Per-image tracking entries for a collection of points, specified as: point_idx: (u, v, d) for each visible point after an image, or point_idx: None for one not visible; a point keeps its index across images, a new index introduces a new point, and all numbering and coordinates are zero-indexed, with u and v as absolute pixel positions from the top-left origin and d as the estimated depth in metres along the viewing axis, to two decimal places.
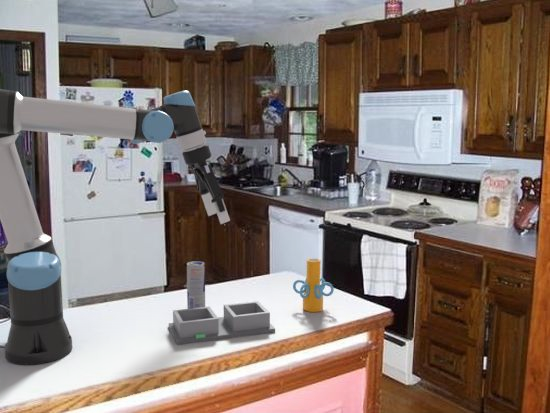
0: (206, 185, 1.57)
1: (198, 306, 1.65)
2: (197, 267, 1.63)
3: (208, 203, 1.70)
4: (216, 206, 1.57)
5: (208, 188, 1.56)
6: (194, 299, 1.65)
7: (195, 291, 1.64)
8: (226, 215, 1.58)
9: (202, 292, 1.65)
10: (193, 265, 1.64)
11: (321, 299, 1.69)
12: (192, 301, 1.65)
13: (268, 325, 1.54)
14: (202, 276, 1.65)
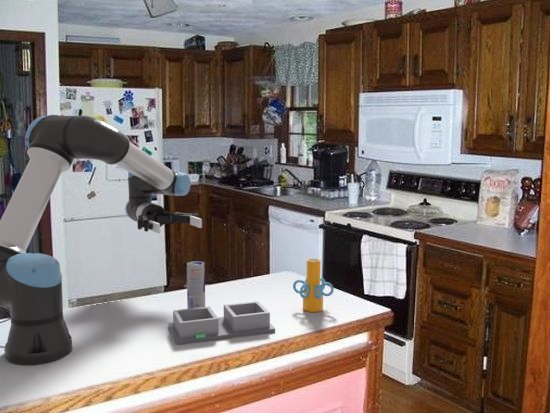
0: (178, 214, 1.83)
1: (198, 306, 1.65)
2: (197, 267, 1.63)
3: None
4: None
5: (182, 214, 1.83)
6: (194, 299, 1.65)
7: (195, 291, 1.64)
8: None
9: (202, 292, 1.65)
10: (193, 265, 1.64)
11: (321, 299, 1.69)
12: (192, 301, 1.65)
13: (268, 325, 1.54)
14: (202, 276, 1.65)
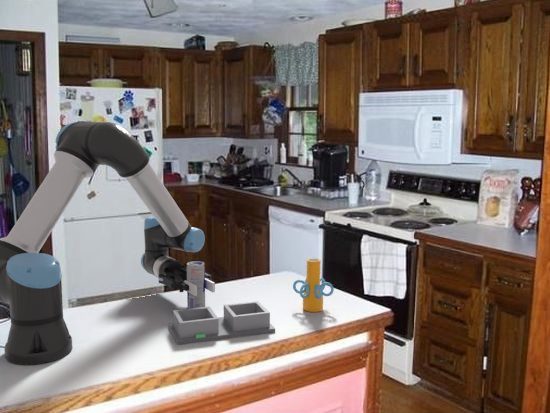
0: None
1: (198, 306, 1.65)
2: (197, 267, 1.63)
3: None
4: None
5: None
6: (194, 299, 1.65)
7: None
8: None
9: (202, 292, 1.65)
10: (193, 265, 1.64)
11: (321, 299, 1.69)
12: (192, 301, 1.65)
13: (268, 325, 1.54)
14: (202, 276, 1.65)
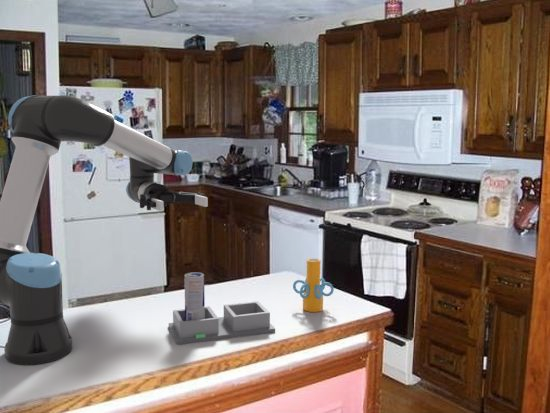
0: (182, 194, 1.73)
1: None
2: (196, 279, 1.48)
3: None
4: None
5: (187, 194, 1.73)
6: (192, 314, 1.49)
7: (194, 305, 1.49)
8: None
9: (201, 306, 1.50)
10: (191, 277, 1.48)
11: (321, 299, 1.69)
12: (190, 316, 1.50)
13: (268, 325, 1.54)
14: (201, 289, 1.49)
